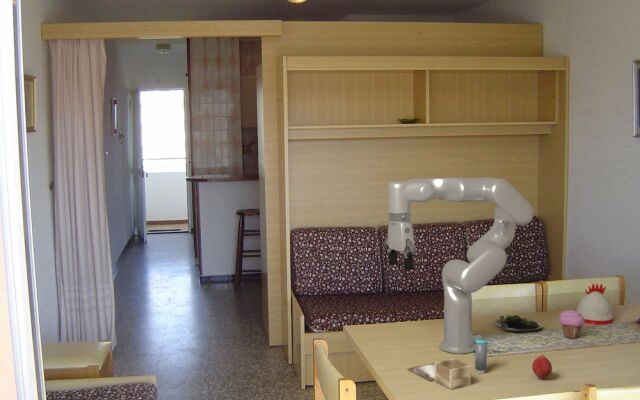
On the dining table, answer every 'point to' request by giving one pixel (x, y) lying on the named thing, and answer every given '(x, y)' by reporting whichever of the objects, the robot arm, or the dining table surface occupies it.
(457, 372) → the wooden box
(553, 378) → the dining table surface
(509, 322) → the salad plate
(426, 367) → the clipboard
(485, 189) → the robot arm
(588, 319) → the white and red dome
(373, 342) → the dining table surface
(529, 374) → the dining table surface
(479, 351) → the cylinder
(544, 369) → the onion
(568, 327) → the cupcake
